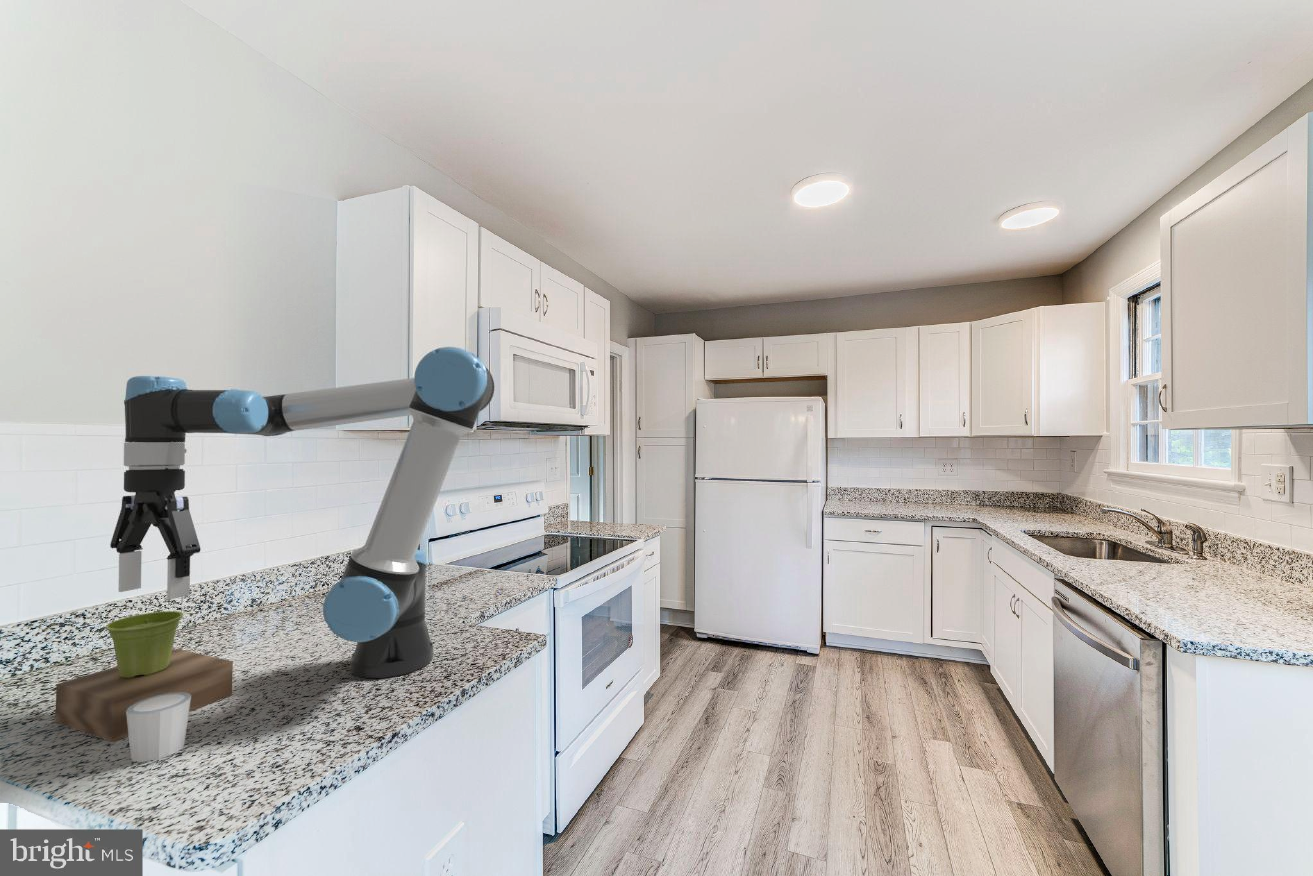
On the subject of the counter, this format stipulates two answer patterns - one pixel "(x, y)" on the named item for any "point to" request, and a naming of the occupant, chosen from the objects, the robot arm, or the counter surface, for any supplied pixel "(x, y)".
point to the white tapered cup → (158, 726)
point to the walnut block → (139, 692)
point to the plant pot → (144, 642)
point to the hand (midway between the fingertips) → (153, 593)
